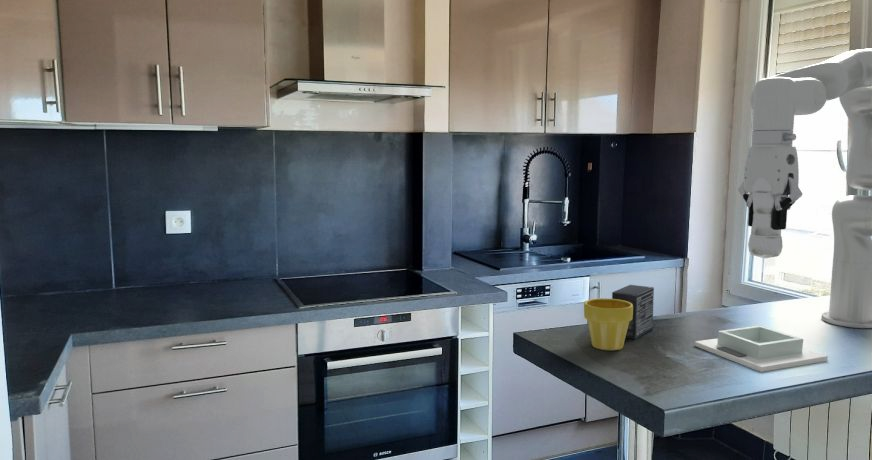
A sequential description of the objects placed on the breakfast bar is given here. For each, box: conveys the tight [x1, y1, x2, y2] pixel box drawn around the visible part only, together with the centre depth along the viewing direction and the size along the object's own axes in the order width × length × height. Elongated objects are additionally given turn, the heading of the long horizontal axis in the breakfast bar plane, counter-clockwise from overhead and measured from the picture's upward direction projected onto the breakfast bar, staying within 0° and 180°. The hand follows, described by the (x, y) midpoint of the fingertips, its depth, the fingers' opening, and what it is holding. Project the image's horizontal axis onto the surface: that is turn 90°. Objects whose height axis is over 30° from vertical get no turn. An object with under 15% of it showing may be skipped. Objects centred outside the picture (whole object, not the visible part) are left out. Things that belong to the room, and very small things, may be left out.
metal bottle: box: [747, 178, 784, 259], centre depth 136 cm, size 6×7×20 cm
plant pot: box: [583, 297, 633, 351], centre depth 145 cm, size 10×10×10 cm
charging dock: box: [694, 325, 829, 373], centre depth 140 cm, size 18×18×4 cm
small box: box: [611, 284, 655, 340], centre depth 156 cm, size 11×6×10 cm, turn 141°
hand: (766, 226), depth 137 cm, fingers closed on metal bottle, 5 cm apart
